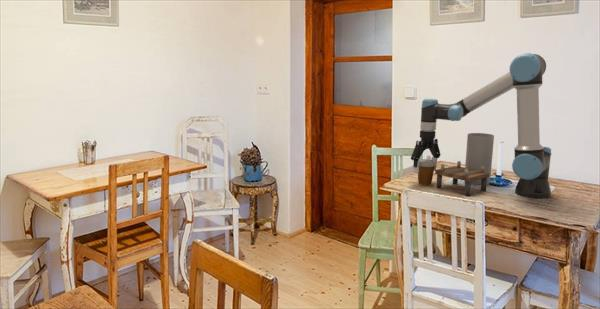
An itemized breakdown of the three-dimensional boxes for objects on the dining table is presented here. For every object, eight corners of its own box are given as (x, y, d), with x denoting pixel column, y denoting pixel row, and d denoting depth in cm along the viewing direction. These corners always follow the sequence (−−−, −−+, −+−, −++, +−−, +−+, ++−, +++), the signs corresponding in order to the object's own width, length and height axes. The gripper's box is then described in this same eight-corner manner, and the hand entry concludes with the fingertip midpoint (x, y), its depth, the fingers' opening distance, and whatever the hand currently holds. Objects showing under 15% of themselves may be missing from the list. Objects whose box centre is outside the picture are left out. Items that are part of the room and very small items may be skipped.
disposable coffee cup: (436, 186, 235) (438, 163, 233) (417, 186, 236) (418, 162, 233) (431, 181, 245) (433, 159, 242) (413, 181, 245) (414, 159, 243)
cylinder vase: (462, 184, 241) (465, 135, 236) (466, 178, 251) (469, 132, 247) (488, 187, 235) (492, 137, 230) (491, 181, 246) (495, 134, 241)
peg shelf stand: (487, 191, 227) (490, 166, 225) (468, 196, 218) (470, 171, 216) (454, 183, 242) (455, 160, 240) (434, 187, 233) (435, 163, 231)
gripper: (437, 127, 245) (434, 167, 249) (405, 131, 231) (402, 173, 235) (449, 129, 239) (446, 170, 243) (417, 133, 225) (414, 176, 229)
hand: (424, 171), depth 239 cm, fingers open, 13 cm apart
